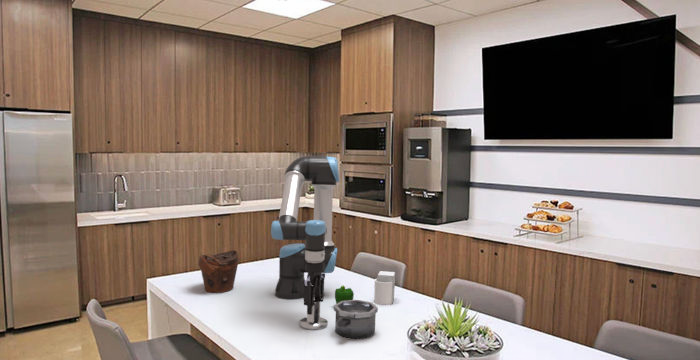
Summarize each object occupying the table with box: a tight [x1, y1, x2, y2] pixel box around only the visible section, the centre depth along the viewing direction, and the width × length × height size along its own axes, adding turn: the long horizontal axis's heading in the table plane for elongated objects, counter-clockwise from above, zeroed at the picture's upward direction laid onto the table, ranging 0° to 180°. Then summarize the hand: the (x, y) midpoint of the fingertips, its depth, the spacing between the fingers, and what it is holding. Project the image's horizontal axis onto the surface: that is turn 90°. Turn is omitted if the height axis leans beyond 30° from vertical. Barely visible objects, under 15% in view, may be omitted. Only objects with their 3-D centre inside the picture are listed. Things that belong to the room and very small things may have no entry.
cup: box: [373, 277, 393, 306], centre depth 216 cm, size 8×12×10 cm
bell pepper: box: [334, 285, 355, 305], centre depth 206 cm, size 8×8×10 cm
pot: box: [333, 299, 379, 340], centre depth 179 cm, size 15×24×10 cm, turn 154°
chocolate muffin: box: [197, 249, 240, 293], centre depth 227 cm, size 18×20×18 cm
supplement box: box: [377, 270, 396, 304], centre depth 216 cm, size 7×7×13 cm
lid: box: [298, 299, 329, 331], centre depth 185 cm, size 11×11×9 cm
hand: (313, 319), depth 185 cm, fingers closed on lid, 4 cm apart
